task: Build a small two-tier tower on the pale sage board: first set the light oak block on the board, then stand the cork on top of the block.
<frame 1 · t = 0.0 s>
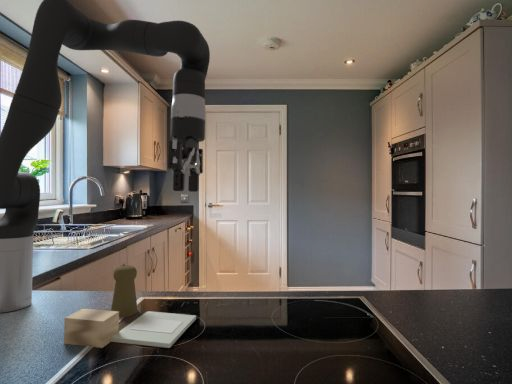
hand: (186, 191, 70), 29 cm above the hob, tool pointing down, fingers open, 8 cm apart
oak block: (91, 340, 61), on the hob
board: (157, 329, 66), on the hob
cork: (124, 313, 75), on the hob
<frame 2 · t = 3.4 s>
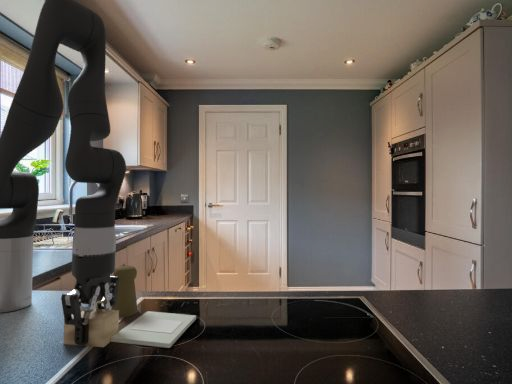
hand: (92, 336, 61), 1 cm above the hob, tool pointing down, fingers closed on oak block, 5 cm apart
oak block: (91, 339, 61), on the hob, touching gripper
everything else where it was.
when the fingers open (3 cm above the hob, at t = 8.2 s): oak block drops 1 cm, resting on board.
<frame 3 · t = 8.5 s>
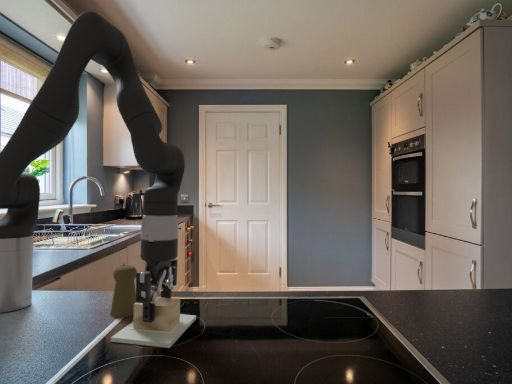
hand: (157, 314, 66), 3 cm above the hob, tool pointing down, fingers open, 7 cm apart
oak block: (157, 325, 66), point 1 cm above the hob, touching board
everything else where it was.
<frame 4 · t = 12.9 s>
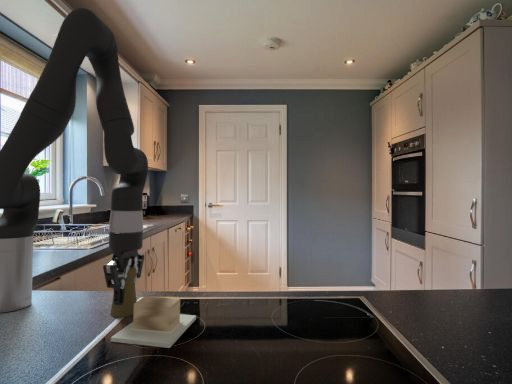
hand: (124, 300, 75), 3 cm above the hob, tool pointing down, fingers closed on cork, 4 cm apart
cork: (124, 313, 75), on the hob, touching gripper
everything else where it was.
when the fingers open (10 cm above the hob, at t = 18.4 s): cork moves 1 cm, resting on oak block.
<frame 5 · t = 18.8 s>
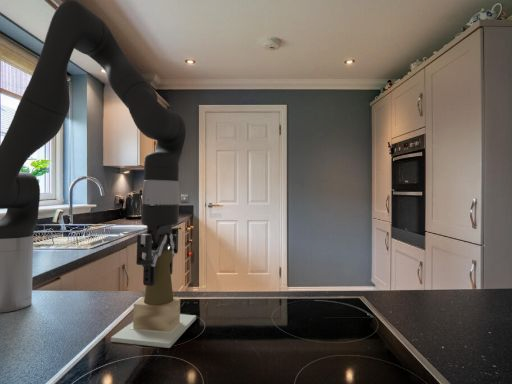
hand: (158, 279, 67), 10 cm above the hob, tool pointing down, fingers open, 7 cm apart
oak block: (157, 325, 66), point 1 cm above the hob, touching board, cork
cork: (158, 301, 67), point 6 cm above the hob, touching oak block
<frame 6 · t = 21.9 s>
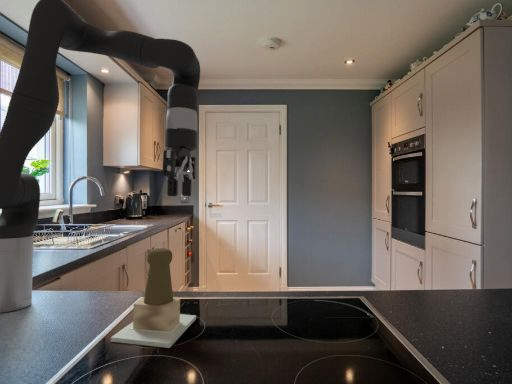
hand: (179, 196, 77), 28 cm above the hob, tool pointing down, fingers open, 8 cm apart
nothing on the hob moved.
at the end: oak block inside the target area on the board (0.1 cm from its centre), point 0.9 cm above the board's base; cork inside the target area on the oak block (0.5 cm from its centre), point 4.8 cm above the oak block's base; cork tilted 0° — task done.
